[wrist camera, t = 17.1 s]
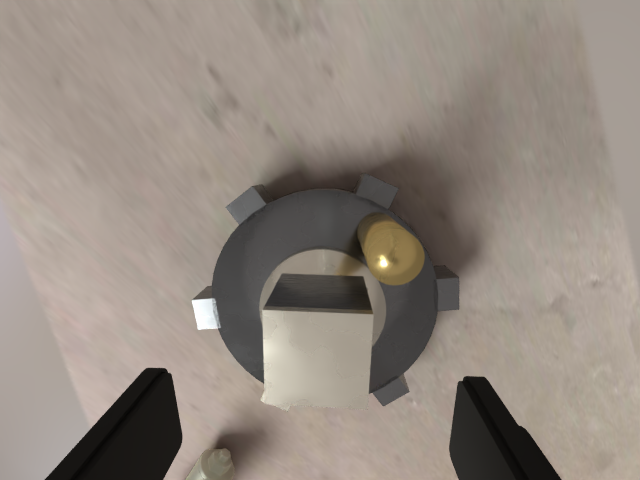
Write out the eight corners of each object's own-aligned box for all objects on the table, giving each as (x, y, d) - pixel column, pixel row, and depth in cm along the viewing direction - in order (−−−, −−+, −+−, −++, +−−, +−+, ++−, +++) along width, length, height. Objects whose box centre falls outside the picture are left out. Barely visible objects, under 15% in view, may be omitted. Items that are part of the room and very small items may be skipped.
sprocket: (345, 119, 19) (353, 79, 11) (483, 321, 22) (572, 411, 14) (166, 258, 22) (66, 310, 14) (307, 423, 25) (293, 549, 17)
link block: (282, 345, 19) (264, 404, 15) (281, 273, 18) (262, 309, 13) (359, 349, 19) (367, 409, 14) (363, 276, 18) (373, 314, 13)
